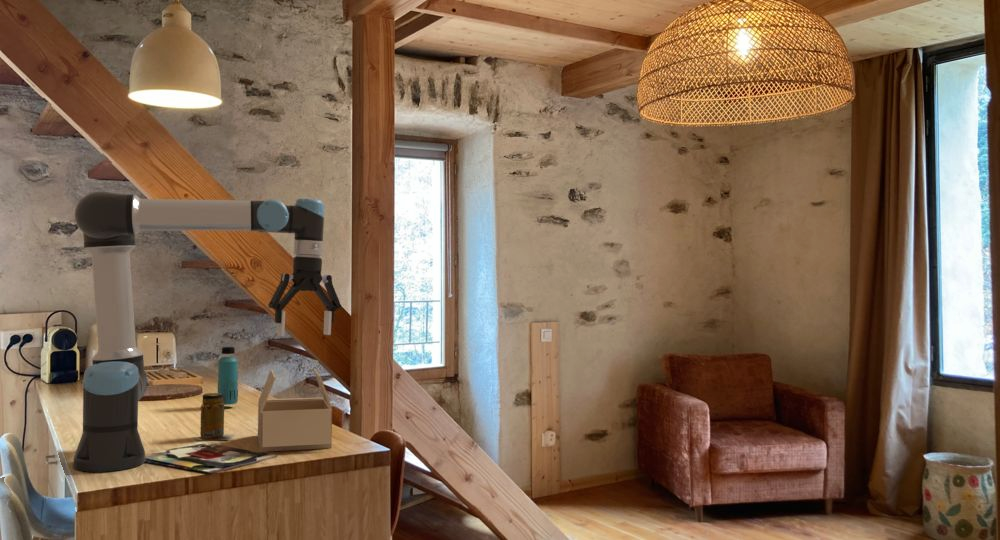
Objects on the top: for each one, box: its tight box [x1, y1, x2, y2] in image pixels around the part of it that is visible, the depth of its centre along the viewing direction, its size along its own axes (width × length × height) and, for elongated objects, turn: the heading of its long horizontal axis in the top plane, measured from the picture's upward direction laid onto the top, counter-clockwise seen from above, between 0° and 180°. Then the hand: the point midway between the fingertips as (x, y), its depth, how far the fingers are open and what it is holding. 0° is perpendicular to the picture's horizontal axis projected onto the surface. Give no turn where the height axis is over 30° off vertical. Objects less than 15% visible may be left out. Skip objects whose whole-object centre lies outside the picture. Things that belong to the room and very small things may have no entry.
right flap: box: [312, 367, 333, 409], centre depth 212 cm, size 1×15×9 cm, turn 19°
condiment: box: [195, 392, 234, 442], centre depth 214 cm, size 7×8×12 cm
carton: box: [257, 399, 333, 453], centre depth 210 cm, size 18×16×10 cm
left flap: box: [258, 368, 276, 411], centre depth 207 cm, size 1×15×9 cm, turn 19°
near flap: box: [262, 408, 332, 447], centre depth 200 cm, size 17×1×9 cm, turn 109°
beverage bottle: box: [217, 346, 239, 406], centre depth 257 cm, size 6×7×20 cm
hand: (304, 335), depth 211 cm, fingers open, 13 cm apart
